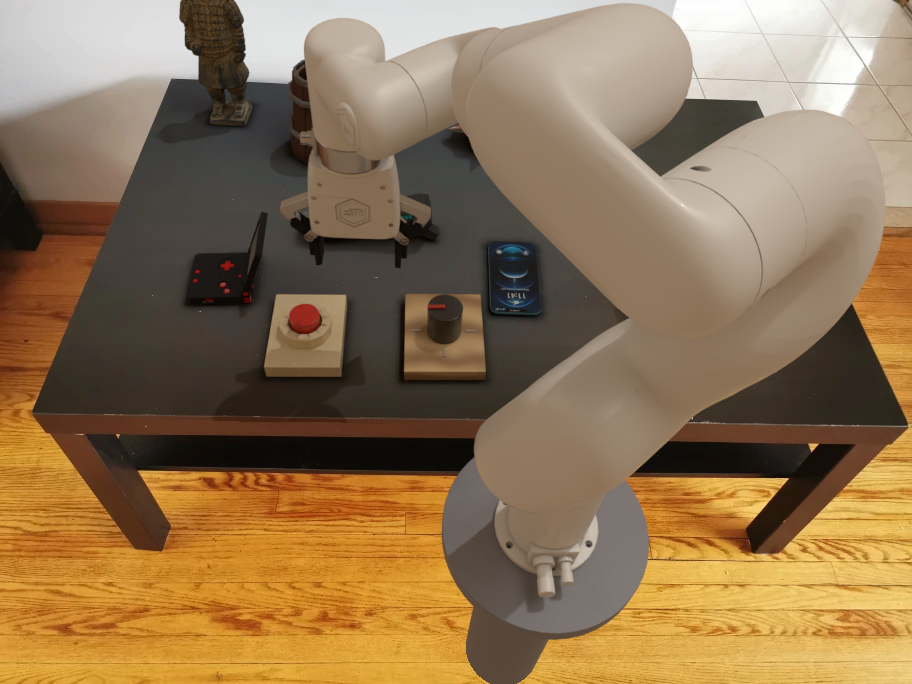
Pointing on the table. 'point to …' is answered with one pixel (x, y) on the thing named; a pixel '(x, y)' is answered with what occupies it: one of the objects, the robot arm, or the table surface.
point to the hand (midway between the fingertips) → (359, 258)
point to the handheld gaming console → (227, 273)
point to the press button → (304, 318)
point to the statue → (219, 55)
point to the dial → (444, 319)
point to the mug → (300, 111)
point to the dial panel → (443, 359)
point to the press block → (307, 338)
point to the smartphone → (513, 278)
